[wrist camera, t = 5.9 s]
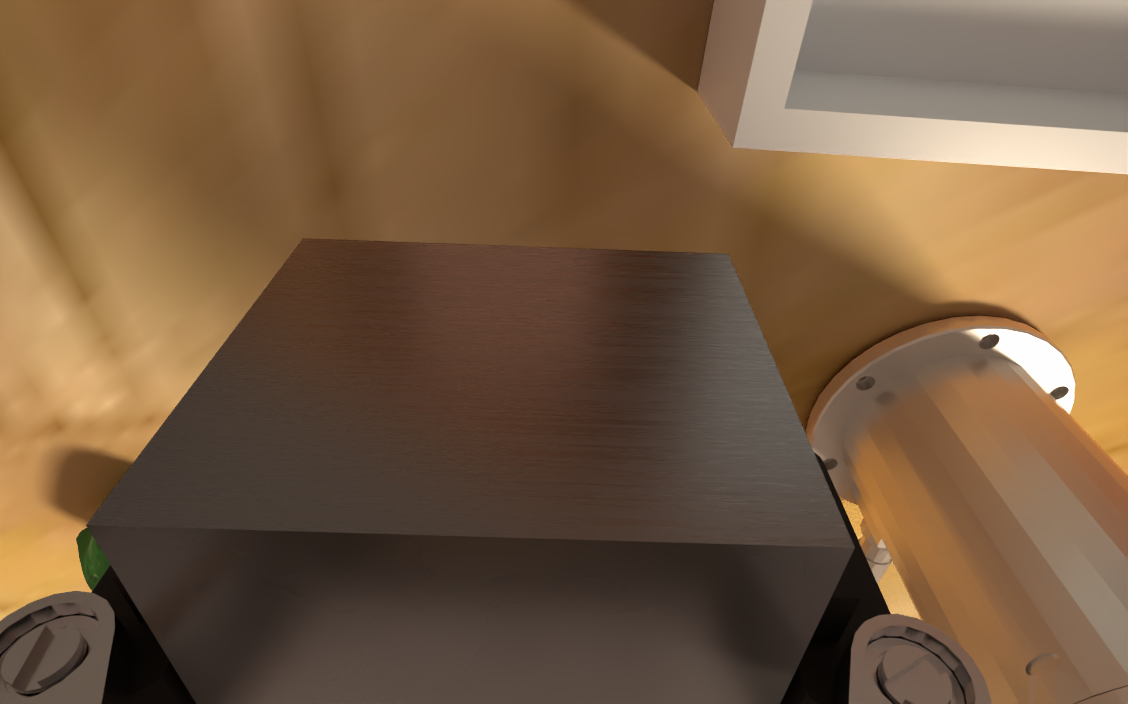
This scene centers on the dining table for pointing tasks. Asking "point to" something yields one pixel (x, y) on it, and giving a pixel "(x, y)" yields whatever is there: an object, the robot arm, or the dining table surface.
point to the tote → (924, 79)
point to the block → (483, 488)
